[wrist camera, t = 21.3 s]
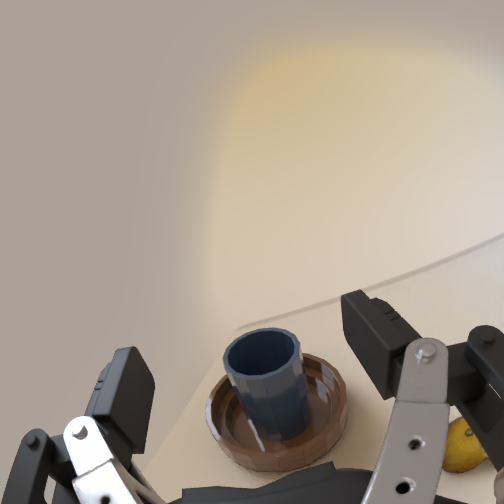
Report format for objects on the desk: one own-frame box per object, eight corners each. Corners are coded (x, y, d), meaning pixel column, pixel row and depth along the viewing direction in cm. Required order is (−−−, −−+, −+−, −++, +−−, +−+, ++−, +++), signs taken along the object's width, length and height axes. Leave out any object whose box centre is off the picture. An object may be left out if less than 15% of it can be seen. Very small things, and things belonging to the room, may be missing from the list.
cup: (244, 441, 25) (213, 379, 22) (256, 395, 31) (232, 330, 28) (310, 440, 23) (297, 376, 20) (313, 392, 30) (301, 324, 26)
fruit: (514, 459, 11) (531, 440, 10) (441, 496, 13) (454, 482, 12) (487, 402, 19) (497, 380, 18) (421, 429, 20) (428, 409, 19)
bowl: (203, 468, 23) (188, 450, 22) (233, 377, 36) (224, 355, 34) (348, 470, 19) (348, 453, 18) (343, 369, 32) (341, 345, 31)
